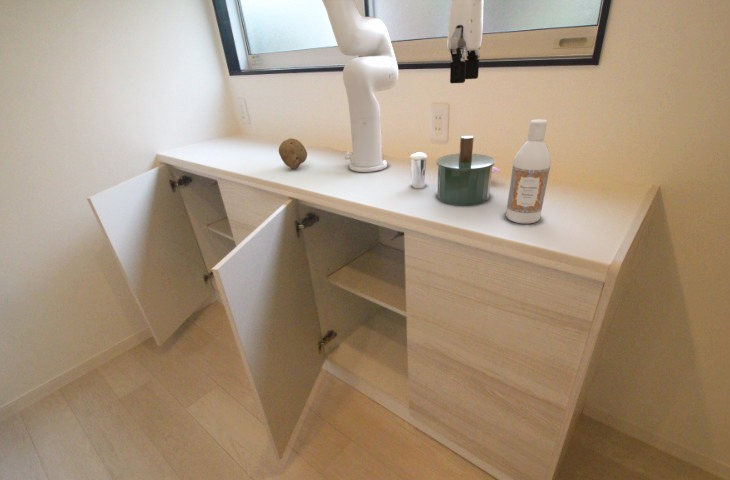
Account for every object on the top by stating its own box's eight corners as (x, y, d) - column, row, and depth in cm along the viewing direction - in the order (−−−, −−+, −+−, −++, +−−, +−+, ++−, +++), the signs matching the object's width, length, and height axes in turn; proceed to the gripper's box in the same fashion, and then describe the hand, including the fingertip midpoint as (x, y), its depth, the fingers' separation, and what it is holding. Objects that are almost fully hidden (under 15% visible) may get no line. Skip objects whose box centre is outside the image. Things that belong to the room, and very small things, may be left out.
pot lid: (427, 170, 86) (428, 141, 83) (448, 156, 96) (449, 129, 93) (485, 176, 80) (488, 145, 76) (500, 160, 90) (504, 132, 86)
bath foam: (504, 222, 77) (518, 124, 67) (506, 210, 83) (519, 117, 72) (539, 226, 75) (560, 124, 65) (539, 213, 80) (558, 117, 70)
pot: (429, 201, 91) (430, 167, 86) (447, 185, 100) (449, 154, 95) (480, 208, 85) (483, 172, 80) (494, 191, 94) (498, 158, 89)
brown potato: (302, 163, 129) (298, 134, 124) (313, 168, 123) (309, 138, 117) (278, 168, 125) (272, 139, 120) (288, 174, 119) (283, 143, 113)
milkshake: (406, 184, 103) (406, 148, 98) (425, 183, 103) (426, 147, 97) (407, 189, 99) (407, 152, 94) (427, 188, 99) (428, 151, 94)
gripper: (464, -7, 82) (460, 78, 90) (436, -14, 69) (434, 85, 78) (498, -13, 78) (491, 76, 87) (475, -21, 66) (469, 84, 74)
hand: (464, 80), depth 82 cm, fingers open, 9 cm apart
